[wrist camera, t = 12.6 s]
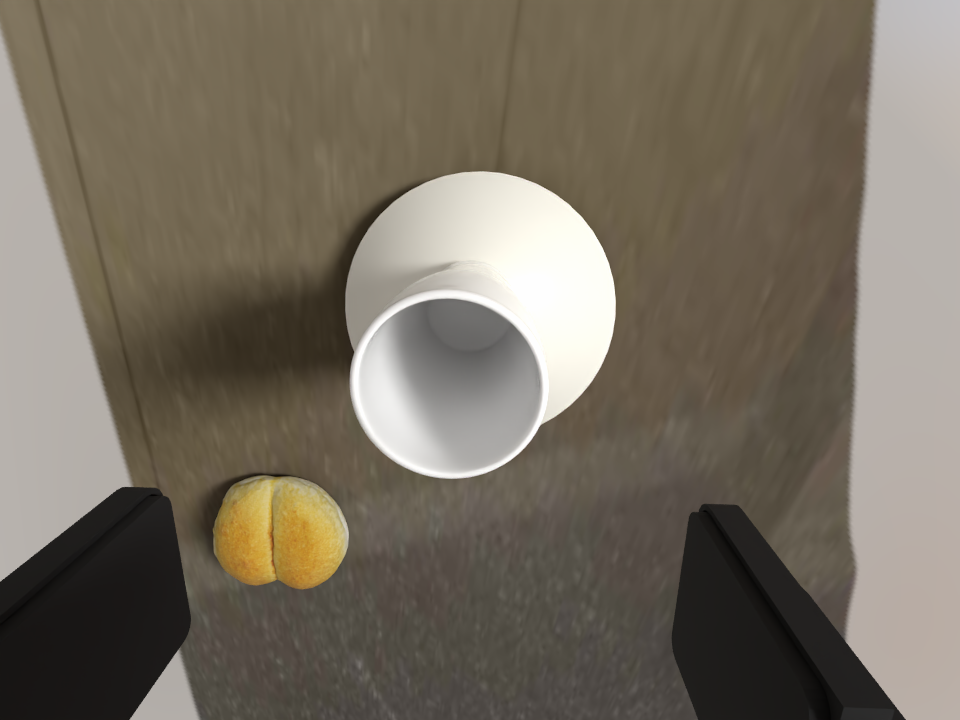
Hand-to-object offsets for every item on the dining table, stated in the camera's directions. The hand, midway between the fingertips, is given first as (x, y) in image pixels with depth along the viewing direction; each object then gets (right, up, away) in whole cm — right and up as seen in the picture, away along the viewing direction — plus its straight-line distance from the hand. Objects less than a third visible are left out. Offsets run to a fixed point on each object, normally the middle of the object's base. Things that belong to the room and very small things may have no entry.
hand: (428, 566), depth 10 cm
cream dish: (+1, +7, +24) cm, 25 cm away
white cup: (0, +7, +23) cm, 24 cm away
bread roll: (-13, -8, +29) cm, 33 cm away
